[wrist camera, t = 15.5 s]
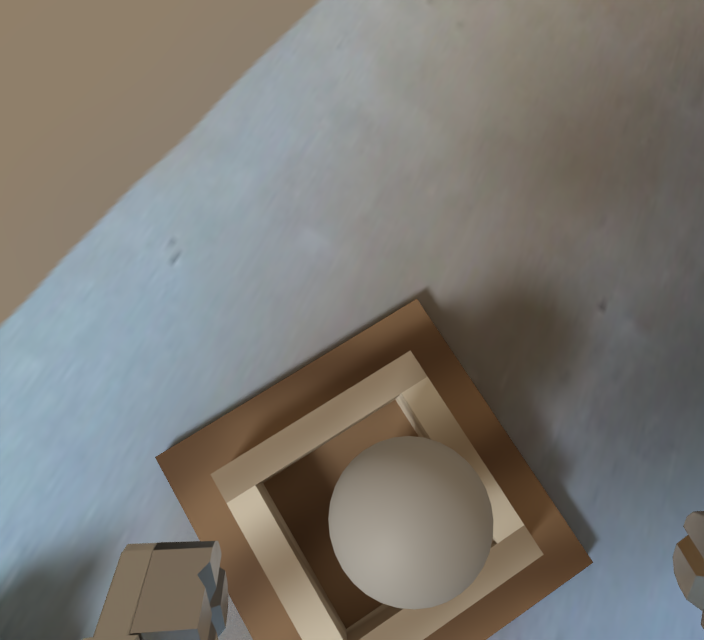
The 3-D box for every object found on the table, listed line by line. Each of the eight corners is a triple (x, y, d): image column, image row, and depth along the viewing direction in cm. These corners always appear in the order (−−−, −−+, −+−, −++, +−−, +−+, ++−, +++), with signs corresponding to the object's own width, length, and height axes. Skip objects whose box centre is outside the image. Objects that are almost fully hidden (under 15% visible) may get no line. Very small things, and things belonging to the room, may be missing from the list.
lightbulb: (446, 573, 30) (523, 626, 19) (323, 574, 29) (330, 629, 19) (442, 446, 31) (510, 430, 21) (324, 446, 31) (332, 429, 20)
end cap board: (584, 559, 31) (621, 573, 27) (318, 750, 29) (315, 795, 25) (414, 303, 34) (424, 282, 30) (160, 457, 32) (136, 456, 28)
